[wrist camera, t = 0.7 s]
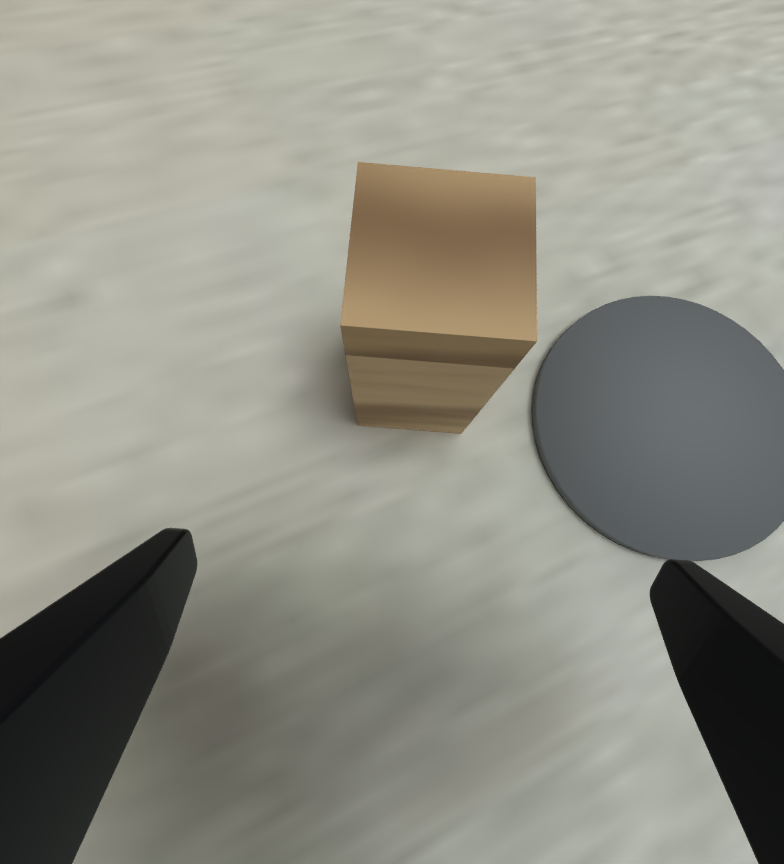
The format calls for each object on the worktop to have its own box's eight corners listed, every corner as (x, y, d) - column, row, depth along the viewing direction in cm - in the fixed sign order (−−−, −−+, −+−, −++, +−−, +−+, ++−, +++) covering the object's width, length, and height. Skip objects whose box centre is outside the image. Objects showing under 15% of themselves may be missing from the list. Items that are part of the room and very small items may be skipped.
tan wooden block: (461, 433, 23) (536, 341, 12) (357, 425, 23) (340, 325, 12) (464, 338, 24) (535, 177, 13) (366, 330, 24) (358, 161, 13)
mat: (847, 444, 23) (863, 441, 22) (670, 622, 21) (681, 625, 20) (656, 260, 25) (665, 251, 25) (477, 400, 23) (481, 396, 22)
